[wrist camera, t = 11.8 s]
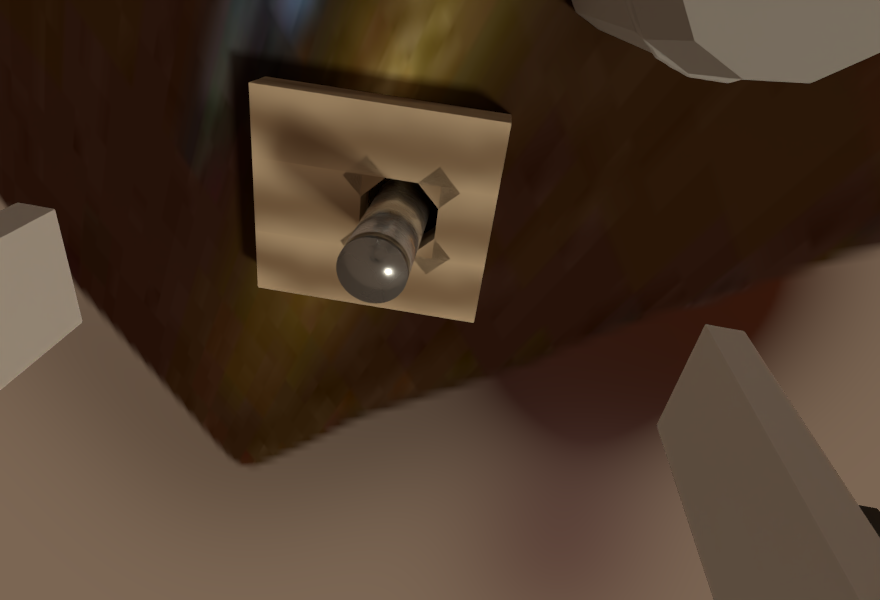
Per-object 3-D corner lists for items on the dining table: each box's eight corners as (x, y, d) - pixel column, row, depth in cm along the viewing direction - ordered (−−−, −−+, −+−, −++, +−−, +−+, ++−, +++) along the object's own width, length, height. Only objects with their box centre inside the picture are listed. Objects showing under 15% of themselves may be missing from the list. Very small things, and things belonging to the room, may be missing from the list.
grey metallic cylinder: (378, 173, 42) (337, 232, 32) (434, 181, 42) (411, 244, 32) (374, 225, 45) (334, 297, 34) (427, 234, 44) (404, 308, 34)
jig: (265, 76, 40) (248, 82, 37) (511, 114, 39) (511, 123, 37) (271, 270, 48) (258, 287, 45) (475, 304, 47) (473, 322, 45)
